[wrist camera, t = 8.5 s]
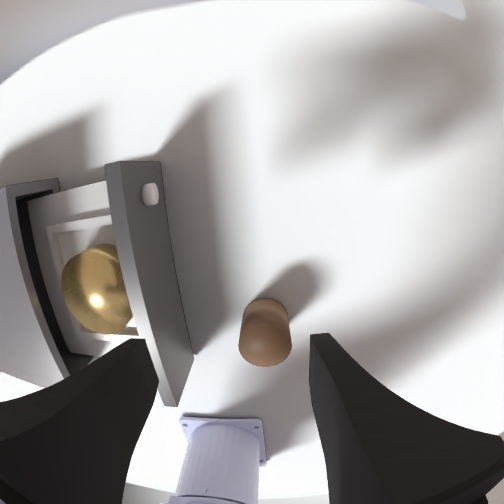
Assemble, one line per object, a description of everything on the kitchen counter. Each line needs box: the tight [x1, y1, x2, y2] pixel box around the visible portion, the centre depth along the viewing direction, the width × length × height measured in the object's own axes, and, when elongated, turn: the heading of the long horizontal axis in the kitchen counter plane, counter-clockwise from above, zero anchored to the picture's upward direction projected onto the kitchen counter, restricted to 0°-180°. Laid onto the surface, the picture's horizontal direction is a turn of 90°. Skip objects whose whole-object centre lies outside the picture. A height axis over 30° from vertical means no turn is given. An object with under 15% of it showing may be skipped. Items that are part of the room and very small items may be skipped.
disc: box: [61, 243, 133, 335], centre depth 17 cm, size 6×6×2 cm
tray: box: [27, 161, 194, 407], centre depth 16 cm, size 15×12×5 cm
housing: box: [0, 178, 99, 388], centre depth 17 cm, size 16×12×6 cm
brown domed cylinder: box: [239, 298, 292, 367], centre depth 18 cm, size 3×3×4 cm
